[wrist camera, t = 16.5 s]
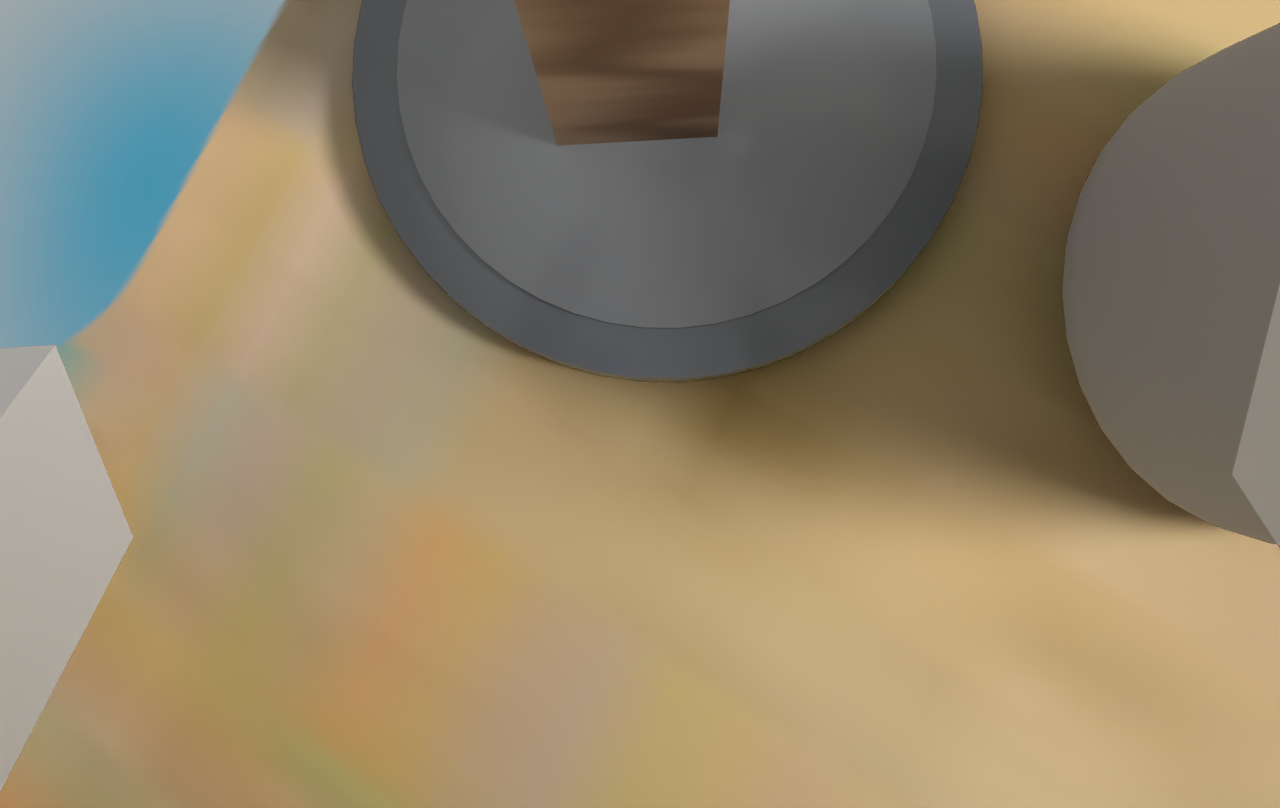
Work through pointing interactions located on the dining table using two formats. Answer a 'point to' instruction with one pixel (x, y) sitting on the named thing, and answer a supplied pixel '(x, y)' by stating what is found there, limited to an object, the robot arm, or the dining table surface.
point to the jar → (1182, 277)
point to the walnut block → (628, 67)
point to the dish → (672, 180)
